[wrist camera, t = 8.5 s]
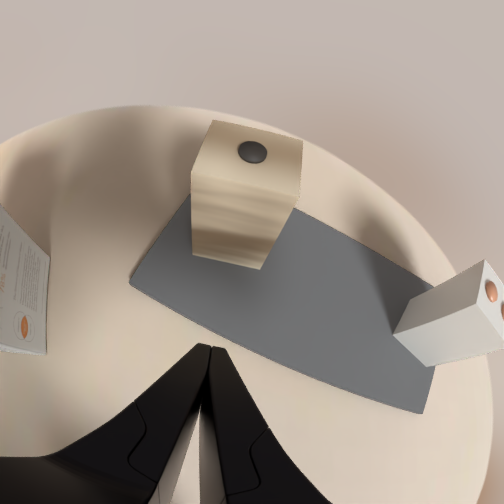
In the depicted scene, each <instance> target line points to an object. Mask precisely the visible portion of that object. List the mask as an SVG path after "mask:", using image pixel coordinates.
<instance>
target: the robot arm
mask: <svg viewBox="0 0 504 504" xmlns="http://www.w3.org/2000/svg"><path fill="white" fill-rule="evenodd" d="M200 406H201V407H200ZM199 411H200V419H199V475H200V504H332V503H331V502H330V501H328V500H327V499H326V498H325V497H324V496H323V495H322V494H321V493H320V492H319V491H318V489H317V488H316V487H315V486H314V485H313V484H312V483H311V482H310V481H309V480H308V479H307V477H306V476H305V475H304V474H303V473H302V472H301V471H300V470H299V468H298V467H297V466H296V465H295V464H294V462H293V461H292V460H291V459H290V457H289V456H288V455H287V454H286V452H285V451H284V450H283V448H282V447H281V445H280V444H279V442H278V441H277V439H276V438H275V436H274V434H273V433H272V431H271V429H270V428H268V427H269V426H268V424H267V423H266V421H265V419H264V418H263V416H262V414H261V413H260V411H259V409H258V407H257V406H256V404H255V402H254V400H253V399H252V397H251V395H250V393H249V392H248V390H247V388H246V386H245V384H244V383H243V381H242V379H241V377H240V375H239V373H238V371H237V370H236V368H235V366H234V364H233V362H232V360H231V358H230V356H229V355H228V353H227V351H226V349H225V348H221V347H216V346H213V347H212V348H211V346H210V345H206V344H201V343H198V344H196V345H195V346H194V347H193V348H192V349H191V350H190V351H189V352H188V353H187V354H185V355H184V356H183V357H182V358H181V359H180V360H179V361H178V362H177V363H176V364H174V365H173V366H172V367H171V368H170V369H169V370H168V371H167V372H166V373H165V374H163V375H162V376H161V377H160V378H159V379H158V380H157V381H156V382H154V383H153V384H152V385H151V386H150V387H149V388H148V389H147V390H146V391H144V392H143V393H142V394H141V395H140V396H139V397H138V398H136V399H135V400H134V402H132V403H131V404H129V405H128V406H127V407H126V408H125V409H124V410H122V411H121V412H120V413H119V414H117V415H116V416H115V417H114V418H112V419H111V420H109V421H108V422H106V423H105V424H103V425H102V426H100V427H99V428H97V429H96V430H94V431H92V432H91V433H89V434H87V435H86V436H84V437H82V438H81V439H79V440H77V441H76V442H74V443H72V444H70V445H69V446H67V447H65V448H63V449H62V450H60V451H58V452H55V453H53V454H49V455H46V456H40V457H0V504H170V502H171V499H172V496H173V492H174V489H175V486H176V483H177V480H178V477H179V474H180V471H181V468H182V465H183V461H184V458H185V455H186V452H187V449H188V446H189V443H190V440H191V437H192V434H193V431H194V427H195V424H196V421H197V418H198V415H199Z"/></svg>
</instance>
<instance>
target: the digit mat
mask: <svg viewBox="0 0 504 504" xmlns="http://www.w3.org/2000/svg"><path fill="white" fill-rule="evenodd" d="M129 284H130V285H131V286H133V287H135V288H136V289H138V290H139V291H141V292H143V293H144V294H146V295H148V296H149V297H151V298H153V299H154V300H156V301H158V302H160V303H161V304H163V305H165V306H166V307H168V308H170V309H172V310H173V311H175V312H177V313H179V314H181V315H182V316H184V317H186V318H188V319H190V320H191V321H193V322H195V323H197V324H199V325H201V326H203V327H205V328H206V329H208V330H210V331H212V332H214V333H216V334H218V335H220V336H222V337H224V338H226V339H228V340H230V341H232V342H234V343H236V344H238V345H240V346H242V347H244V348H246V349H248V350H250V351H253V352H255V353H257V354H259V355H261V356H263V357H266V358H268V359H270V360H272V361H274V362H277V363H279V364H281V365H283V366H286V367H288V368H290V369H293V370H295V371H297V372H300V373H302V374H305V375H307V376H309V377H312V378H314V379H317V380H319V381H322V382H325V383H327V384H330V385H332V386H335V387H338V388H340V389H343V390H346V391H348V392H351V393H354V394H357V395H360V396H362V397H365V398H368V399H371V400H374V401H377V402H380V403H383V404H387V405H390V406H393V407H396V408H400V409H403V410H406V411H410V412H413V413H417V414H423V411H424V407H425V404H426V401H427V397H428V394H429V390H430V386H431V382H432V379H433V374H434V370H435V366H436V365H435V366H429V367H426V366H425V365H424V364H422V363H421V362H420V361H419V360H418V359H417V358H416V357H415V356H414V355H413V354H412V353H411V352H410V351H409V350H408V349H407V348H406V347H405V346H404V345H403V344H401V343H400V342H399V341H398V340H397V339H396V338H395V337H394V336H393V333H394V331H395V329H396V327H397V325H398V323H399V321H400V319H401V317H402V315H403V313H404V311H405V309H406V307H407V305H408V303H409V301H410V299H412V298H414V297H416V296H418V295H420V294H422V293H424V292H426V291H428V290H430V289H432V288H434V287H433V286H431V285H430V284H428V283H426V282H425V281H423V280H422V279H420V278H418V277H417V276H415V275H414V274H412V273H410V272H409V271H407V270H405V269H404V268H402V267H400V266H399V265H397V264H395V263H394V262H392V261H390V260H389V259H387V258H385V257H383V256H382V255H380V254H378V253H376V252H375V251H373V250H371V249H369V248H368V247H366V246H364V245H362V244H361V243H359V242H357V241H355V240H353V239H352V238H350V237H348V236H346V235H344V234H343V233H341V232H339V231H337V230H335V229H333V228H332V227H330V226H328V225H326V224H324V223H322V222H320V221H318V220H316V219H315V218H313V217H311V216H309V215H307V214H305V213H303V212H301V211H299V210H297V209H295V208H293V210H292V212H291V214H290V215H289V217H288V219H287V221H286V223H285V225H284V227H283V228H282V230H281V232H280V234H279V236H278V238H277V239H276V241H275V243H274V245H273V247H272V249H271V250H270V252H269V254H268V256H267V258H266V260H265V261H264V263H263V265H262V267H261V269H260V270H259V269H255V268H250V267H245V266H241V265H236V264H232V263H227V262H223V261H218V260H214V259H209V258H205V257H200V256H196V255H193V254H192V224H191V193H190V195H189V196H188V197H187V199H186V200H185V201H184V203H183V204H182V205H181V207H180V208H179V209H178V211H177V212H176V213H175V215H174V216H173V218H172V219H171V220H170V222H169V223H168V224H167V226H166V227H165V229H164V230H163V232H162V233H161V234H160V236H159V237H158V239H157V240H156V242H155V243H154V244H153V246H152V247H151V249H150V250H149V252H148V253H147V255H146V256H145V258H144V259H143V261H142V262H141V264H140V265H139V267H138V268H137V270H136V271H135V273H134V275H133V276H132V278H131V279H130V281H129Z"/></svg>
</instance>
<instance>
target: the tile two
mask: <svg viewBox="0 0 504 504" xmlns="http://www.w3.org/2000/svg"><path fill="white" fill-rule="evenodd" d="M393 336H394V337H395V338H396V339H397V340H398V341H399V342H400V343H401V344H403V345H404V346H405V347H406V348H407V349H408V350H409V351H410V352H411V353H412V354H413V355H414V356H415V357H416V358H417V359H418V360H419V361H420V362H421V363H422V364H424V365H425V366H426V367H429V366H435V365H440V364H445V363H450V362H455V361H459V360H464V359H468V358H472V357H476V356H480V355H484V354H488V353H491V352H495V351H498V350H502V349H504V284H503V283H502V281H501V280H500V279H499V277H498V276H497V274H496V273H495V272H494V270H493V269H492V268H491V266H490V265H489V264H488V262H487V261H486V260H485V259H484V260H482V261H481V262H479V263H477V264H476V265H474V266H472V267H470V268H469V269H467V270H465V271H463V272H462V273H460V274H458V275H456V276H455V277H453V278H451V279H449V280H447V281H445V282H444V283H442V284H440V285H438V286H436V287H434V288H432V289H430V290H428V291H426V292H424V293H422V294H420V295H418V296H416V297H414V298H412V299H410V301H409V303H408V305H407V307H406V309H405V311H404V313H403V315H402V317H401V319H400V321H399V323H398V325H397V327H396V329H395V331H394V333H393Z"/></svg>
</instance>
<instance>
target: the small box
mask: <svg viewBox="0 0 504 504" xmlns="http://www.w3.org/2000/svg"><path fill="white" fill-rule="evenodd" d="M49 264H50V257H49V256H48V255H47V254H46V253H45V252H44V251H43V250H42V249H41V248H40V247H39V246H38V245H37V244H36V243H35V242H34V241H33V240H32V239H31V238H30V237H29V236H28V235H27V234H26V232H25V231H24V230H23V229H22V228H21V227H20V226H19V225H18V224H17V223H16V222H15V221H14V219H13V218H12V217H11V216H10V215H9V214H8V213H7V211H6V210H5V209H4V208H3V207H2V206H1V204H0V351H5V352H13V353H23V354H34V355H46V302H47V285H48V273H49Z"/></svg>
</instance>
